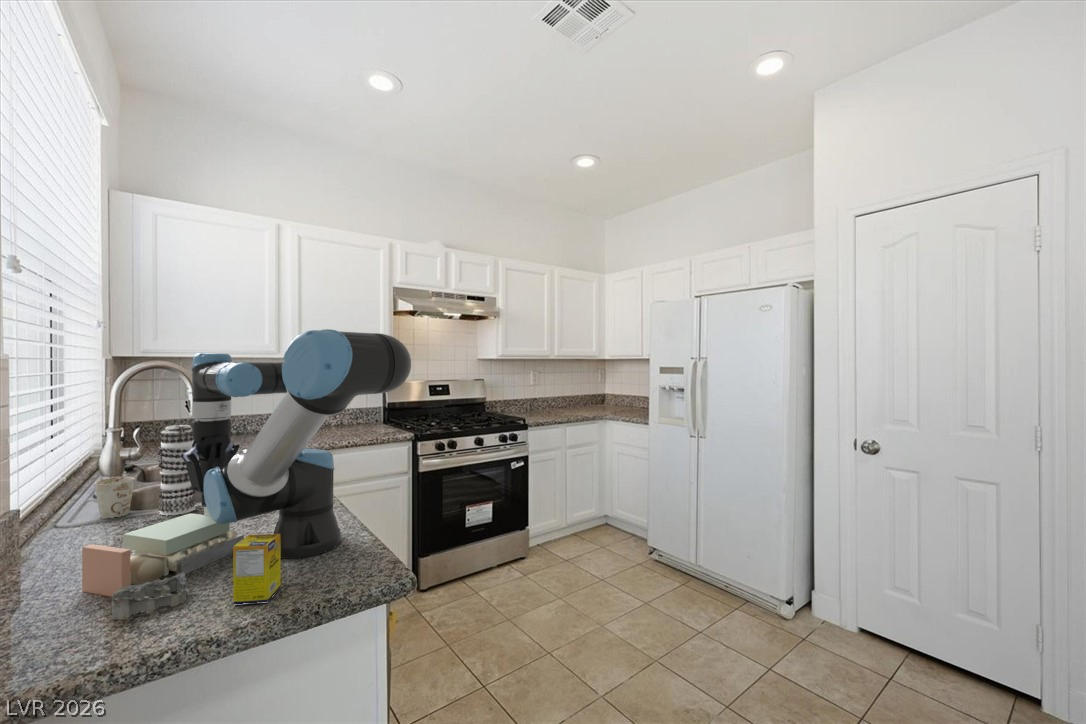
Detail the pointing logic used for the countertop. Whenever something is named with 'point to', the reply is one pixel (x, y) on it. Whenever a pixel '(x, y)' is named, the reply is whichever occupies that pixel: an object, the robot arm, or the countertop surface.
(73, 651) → the countertop surface
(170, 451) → the decorative candle
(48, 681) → the countertop surface
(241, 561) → the supplement box
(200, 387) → the robot arm
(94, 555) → the board
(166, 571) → the roller cradle
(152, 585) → the egg carton
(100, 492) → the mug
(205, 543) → the roller bed
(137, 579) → the roller
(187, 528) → the slab
